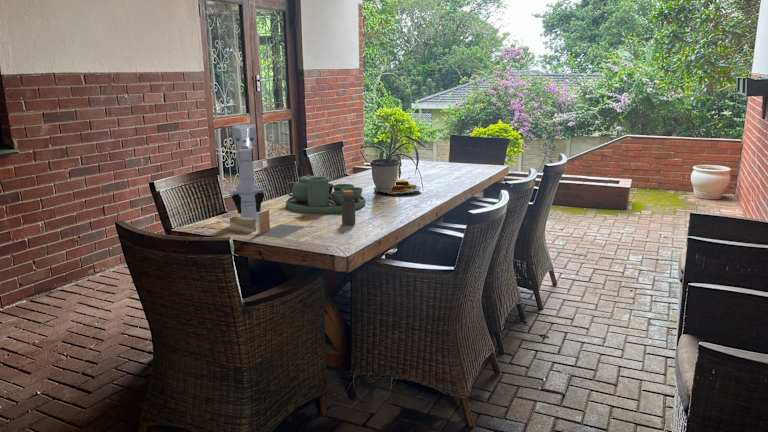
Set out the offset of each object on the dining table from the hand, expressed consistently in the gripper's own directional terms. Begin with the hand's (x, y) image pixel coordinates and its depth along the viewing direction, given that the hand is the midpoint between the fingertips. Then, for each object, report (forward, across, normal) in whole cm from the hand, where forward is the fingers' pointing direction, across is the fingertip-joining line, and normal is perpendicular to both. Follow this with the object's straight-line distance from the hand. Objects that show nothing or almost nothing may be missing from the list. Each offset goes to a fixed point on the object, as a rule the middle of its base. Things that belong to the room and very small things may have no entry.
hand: (248, 212), depth 242 cm
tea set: (+5, +56, +42) cm, 70 cm away
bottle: (+9, +46, 0) cm, 46 cm away
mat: (+10, +15, +4) cm, 18 cm away
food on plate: (+2, +107, +51) cm, 119 cm away
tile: (+9, +8, +5) cm, 13 cm away
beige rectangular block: (+9, +2, +14) cm, 17 cm away
